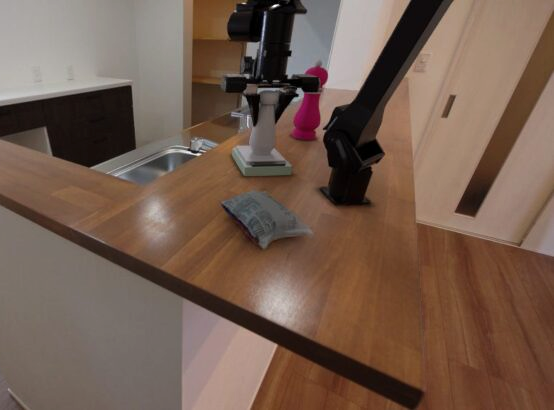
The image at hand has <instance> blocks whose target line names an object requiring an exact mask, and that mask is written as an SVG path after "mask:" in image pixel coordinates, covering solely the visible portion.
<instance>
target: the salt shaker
mask: <svg viewBox="0 0 554 410" xmlns="http://www.w3.org/2000/svg"><path fill="white" fill-rule="evenodd" d="M258 94H260V104H259V113H258V122H257V124H256V126H255V127H254V126H253V125H252V130H251V132H250V137H249V141H248V146H250V147H251V149H252V152H253V154H256V155H260V156H263V155H269V154H270V153H271V151H272V150H273V148H275V147H276V145H277V135H276V134H277V131H276V130H277V129H276V125H277V124H276V125H275V104H277V103H278V101H279V93H278V92H276V91H275V90H273V89H272V90H271V89H269V90H268V89H265V90H261V91H259V92H258Z"/></svg>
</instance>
